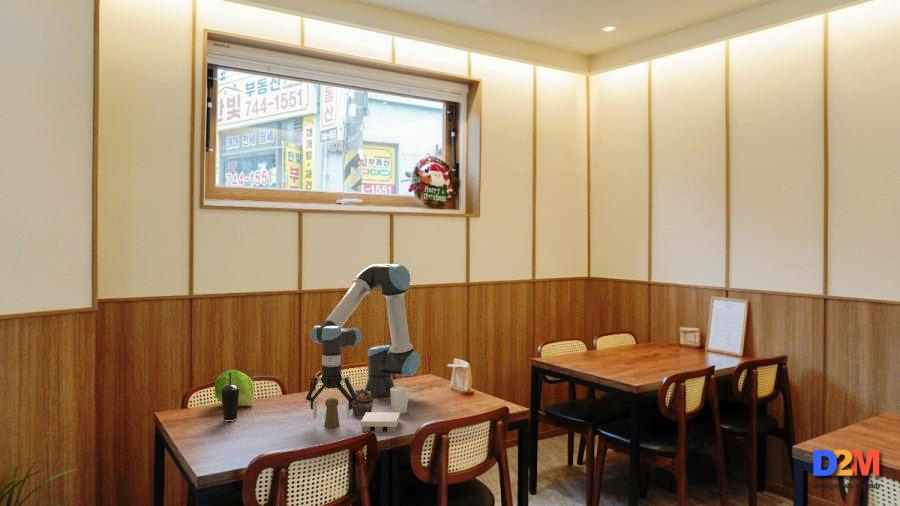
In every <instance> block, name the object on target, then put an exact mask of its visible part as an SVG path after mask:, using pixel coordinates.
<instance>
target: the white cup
mask: <svg viewBox="0 0 900 506" xmlns="http://www.w3.org/2000/svg"><path fill="white" fill-rule="evenodd" d="M390 393H391V396H390V406H391V412H400V415H401V414H404V413H407V412H408V406H409V405H408V404H409V402H408V401H409V387H406V386H395V387H393V388H391V389H390Z"/></svg>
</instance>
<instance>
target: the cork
mask: <svg viewBox="0 0 900 506" xmlns="http://www.w3.org/2000/svg"><path fill="white" fill-rule="evenodd" d="M324 403H325V407H326V410H325V418H324V426H323V427H324V428H328V429H335V428H338V427H340V426H341V425H340V419H339V412H338V405H339V399H338V398H336V397H329V398H327V399H326V400H325V402H324Z"/></svg>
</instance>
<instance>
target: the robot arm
mask: <svg viewBox="0 0 900 506" xmlns="http://www.w3.org/2000/svg"><path fill="white" fill-rule="evenodd" d="M410 283H411V274H410V272H409V270H408V268H407V267H406V266H404V265H403V264H398V263H373V264H371V265H369V266H367V267H366V268H364V269H363V270H362V271H361V272H359V273H358V274H357V275H356V277H355V278H354V279H353V280H352V286H350V288H349V289H348V290H347V292H346V293H345V294H344V295H343V297H342V299H341V300H340V301H339V302H338V303H337V305H336V306H335V308H333V310H332V311H331V312H330V314H329V315H328V316H327V318H326V319H325V320H324V321H323V323H322V324H321V325H320V324H319V325H315V326H313V327H312V328H311V330H310V338H311V341H312V342H313V343H316V344H320V345H321V346H322V347H321V351H322V352H321V365H322V366H321V376H318V375H316V376H315V377H314V378H313V383H312V385H311V387H310V389H309V391H308V393H307V395H306V396H305V400H306V401H309V402H310V409H311V410H312V419H315V418H317V414H318V412H317V410H318V409H317V408H318V407H317V404H318V403H317V402H318V401H317V400H315V399H317V397H318V396H319V395H320V394H321V392H322V391H323V390H324V389H337V390H339V392H340V393H341V394H342V395H343V396H344V398H345V399H346V400H347V401H346V419H347V420H348V419H350V417H351V410H353V409H352V401H355V400H356V399H357V396H356V394H355V390H354V388H353V386H352V384H351V382H350V377H349V376H348V375H346V376H345V377H342V365H341V364H342V349H344V348H349V347H354V346H357V345H359V344H360V343H361V341H362V336H363V335H362V332H361V330H360V329H359V328H358V327H348V328H347V327H346V328H345V327H343V326H344V325H345V324H346V322H347V321H348V320H349V318H350V317H351V316H352V315H353V313H354V311H356V308H357V307H358V306H359V305H360V303H361V302H362V301H363V299H364V298H365V296H366V295H369V294H370V293H371V292H372V291H373V290H376V289H377V290H378V289H379V290H381V295H382V296H383V297H384V298H385V302H386V303H385V304H386V309H387V310H386V311H387V319H388V327H389V332H390V333H389V334H390V342H391V344H387V345H377V346H373V347H370V348H368V351H367V381H366V384H365V387H364V391H365V390H366V391H368V390H369V391H370V392H371V396H372V398H384V397H391V393H390V389H391V388H393V387H396V385H395V381H394V379H393V375H399V376H403V377H406V376H408V377H411V376H413V375H414V374H416V373H417V371H418V370H419V367H420V363H421V357H420V354H419V352H417V351H415V349H414V348H415V347H414V344H412V343H411V341H410V334H409V326H408V319H407V311H406V302H405V300H406V299H405V294H406V293H407V292H408V288H409V287H410V285H411V284H410ZM320 381H321V383H322V385H321V386H320V387H319V388H318V390H317V391H316V392H315V394H314V395H313V393H314V391H315V389H316V387H317V385H318V383H319V382H320ZM342 381H343V383H344V384H345V386H346V389H347V390H348V391H347V390H346V389H345V388H344V387H343V385H342ZM312 395H313V396H312Z"/></svg>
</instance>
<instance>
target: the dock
mask: <svg viewBox="0 0 900 506" xmlns="http://www.w3.org/2000/svg"><path fill="white" fill-rule="evenodd" d="M400 418H401V414H400V412H392V411H390V412H389V411H388V412H385V411H384V412H381V411H380V412H379V411H378V412H375V411H374V412H373V411H371V412H366V413H365V415H363V416H362V419H361V421H360V427H361V431H362V432H364V433H365V432H367V431H370V432H371V430H372V429H373V427H374V432H377V433H379V432H383V431H384V430H385V428H387V432H388V433H391V432H392V433H395V432H396V430H397V428H398V425H399V423H400Z"/></svg>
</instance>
